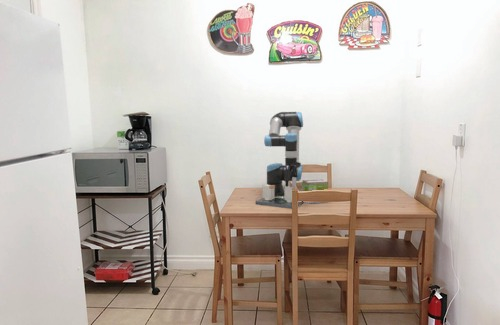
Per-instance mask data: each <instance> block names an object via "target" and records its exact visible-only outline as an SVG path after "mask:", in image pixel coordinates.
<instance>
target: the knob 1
mask: <svg viewBox="0 0 500 325" xmlns="http://www.w3.org/2000/svg"><path fill="white" fill-rule="evenodd" d="M274 188H275V185H268V184H267V183H266V184H263V185H262V198H265V200H266V201H271V200H272V199H274V198H275V196H274Z"/></svg>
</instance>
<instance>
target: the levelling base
mask: <svg viewBox="0 0 500 325" xmlns="http://www.w3.org/2000/svg"><path fill="white" fill-rule="evenodd" d="M284 197H285V196H284V195H282V196H276V197H274V199H272V200H271V201H266V200H265V198H263V197H262V198H259V199H258V200H256V201H255V205H259V206H268V207H274V208H287V209H293V208H292V203H288V202H287V200H284ZM302 203H303V204H304V201H303V202H298V207H297V208H299V207H300V206H301V205H303V204H302Z"/></svg>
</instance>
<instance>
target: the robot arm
mask: <svg viewBox="0 0 500 325" xmlns="http://www.w3.org/2000/svg"><path fill="white" fill-rule="evenodd" d="M269 126H270V128H269V132H268V134H267V135H264V146H265V147H285V148H284V149H285V150H284V153H285V154H284V157H285V158H284V162H285V164H284V165H283V163H282V162H279V163H277V162H275V163H270V164H268V165H267V167H266V184H268V185H275V188H274V197H278V196H285V191H290V187H297V182H299V181H301V180H302V177H303V176H302V175H303V165H302V163H301V162H300V131H301V130H302V128H303V127H304V120H303V115H302V112H300V111H281V112H277V113H275V114H274V115H273V116H272V117H271V118H270V122H269ZM281 128H285V129H286V131H287V133H286V134H285V135H281V134H280V133H281ZM283 181H284V185H283ZM290 182H291V186H290Z"/></svg>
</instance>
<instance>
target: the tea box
mask: <svg viewBox="0 0 500 325" xmlns="http://www.w3.org/2000/svg"><path fill="white" fill-rule="evenodd" d="M301 186H302V187H301V192H302V191H312V190H324V189H328V190H329V181H327V180H324V179H321V178H320V179H319V178H318V179H303V180H302V185H301ZM305 203H306V204H319V203H323V202H305Z"/></svg>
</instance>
